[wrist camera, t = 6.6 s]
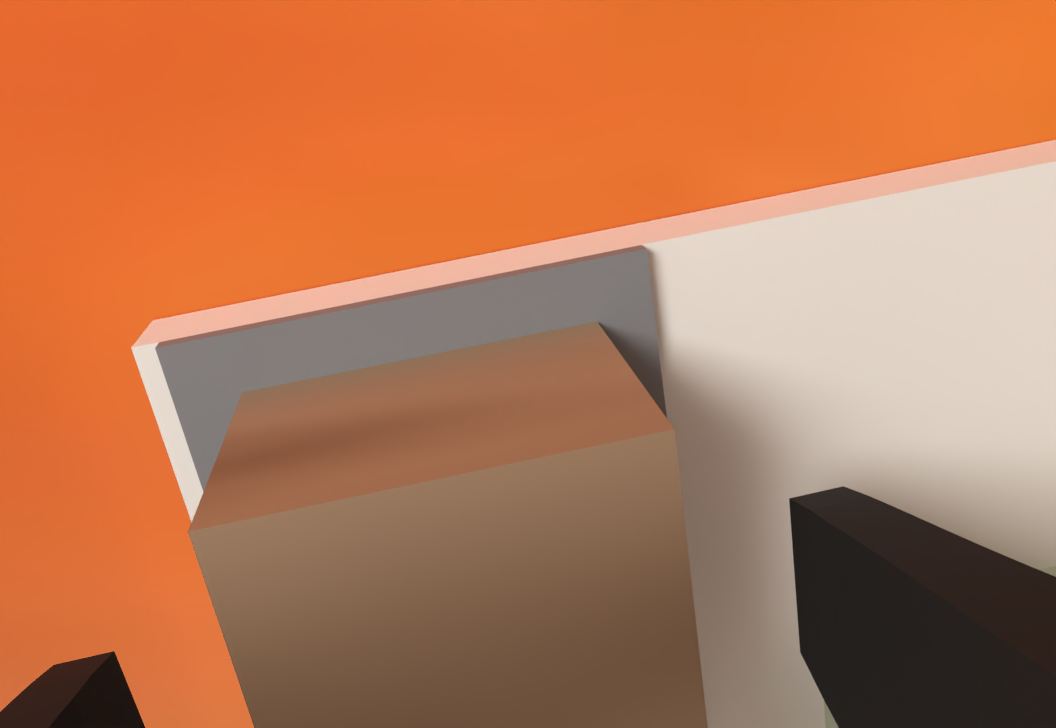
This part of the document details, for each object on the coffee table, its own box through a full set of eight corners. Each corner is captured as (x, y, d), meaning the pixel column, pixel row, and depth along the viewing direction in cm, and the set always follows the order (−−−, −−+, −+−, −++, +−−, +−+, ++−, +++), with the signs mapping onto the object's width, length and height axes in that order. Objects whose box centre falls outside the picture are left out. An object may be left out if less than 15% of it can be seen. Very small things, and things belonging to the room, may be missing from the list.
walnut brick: (650, 710, 12) (726, 907, 10) (356, 779, 12) (349, 1004, 9) (596, 321, 10) (675, 429, 8) (242, 391, 10) (188, 531, 7)
